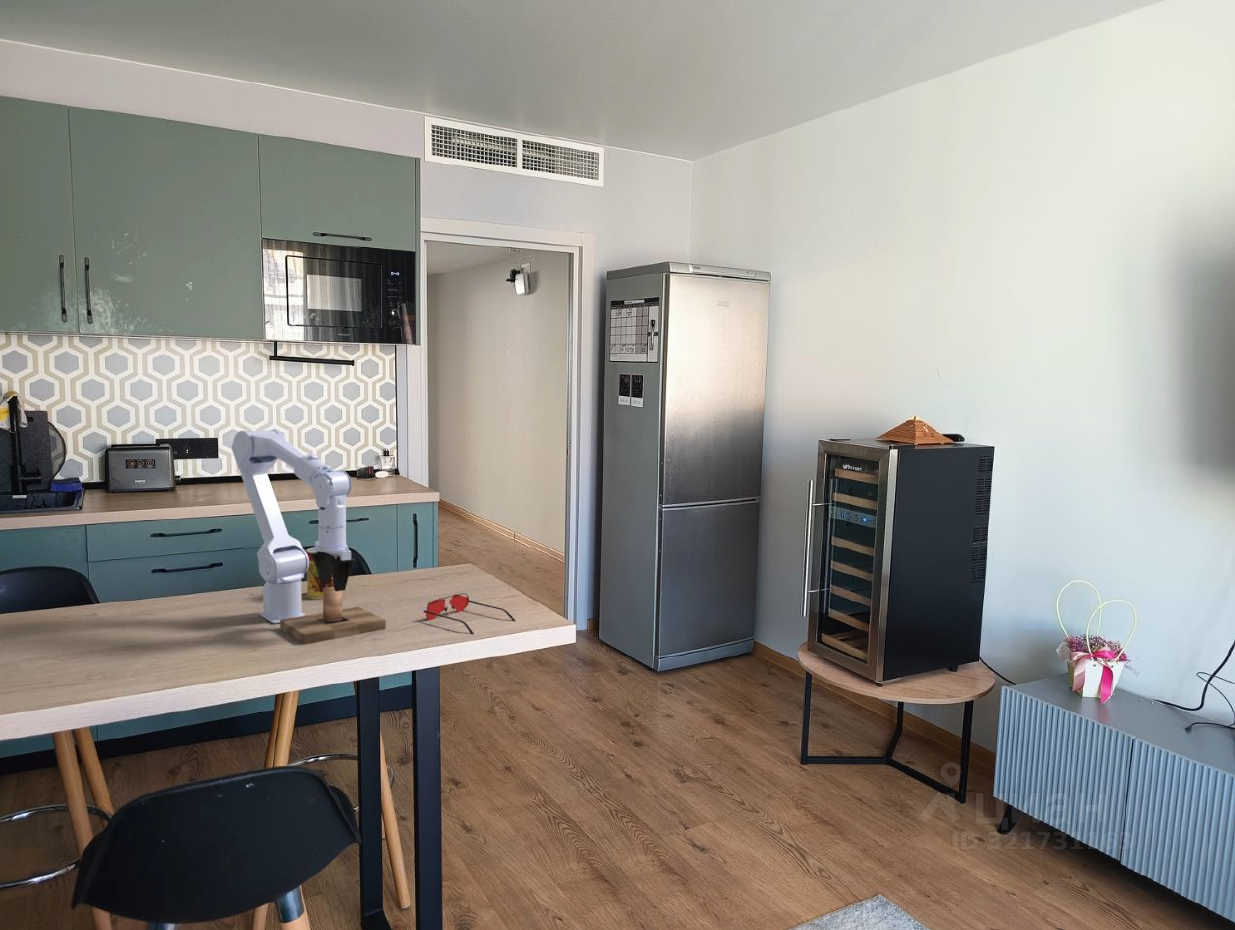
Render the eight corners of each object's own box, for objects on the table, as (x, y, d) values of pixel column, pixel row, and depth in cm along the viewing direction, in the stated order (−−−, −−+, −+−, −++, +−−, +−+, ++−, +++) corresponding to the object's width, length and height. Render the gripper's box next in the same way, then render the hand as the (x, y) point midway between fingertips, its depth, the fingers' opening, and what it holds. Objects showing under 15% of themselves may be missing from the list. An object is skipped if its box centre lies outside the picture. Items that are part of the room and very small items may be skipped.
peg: (319, 628, 181) (319, 588, 180) (338, 624, 184) (337, 585, 183) (327, 632, 178) (327, 592, 177) (345, 629, 181) (345, 589, 180)
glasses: (466, 610, 201) (466, 590, 200) (516, 622, 191) (516, 601, 190) (422, 622, 189) (422, 601, 189) (472, 636, 180) (473, 613, 179)
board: (280, 628, 180) (280, 619, 180) (357, 614, 192) (357, 606, 192) (305, 644, 170) (305, 634, 170) (385, 628, 182) (385, 619, 182)
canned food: (333, 600, 205) (333, 552, 204) (302, 599, 205) (301, 552, 204) (344, 592, 213) (343, 546, 212) (314, 591, 213) (313, 546, 212)
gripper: (301, 523, 182) (301, 583, 183) (328, 532, 171) (328, 596, 172) (332, 520, 186) (332, 578, 188) (360, 529, 176) (360, 591, 177)
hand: (332, 587), depth 180 cm, fingers open, 7 cm apart
